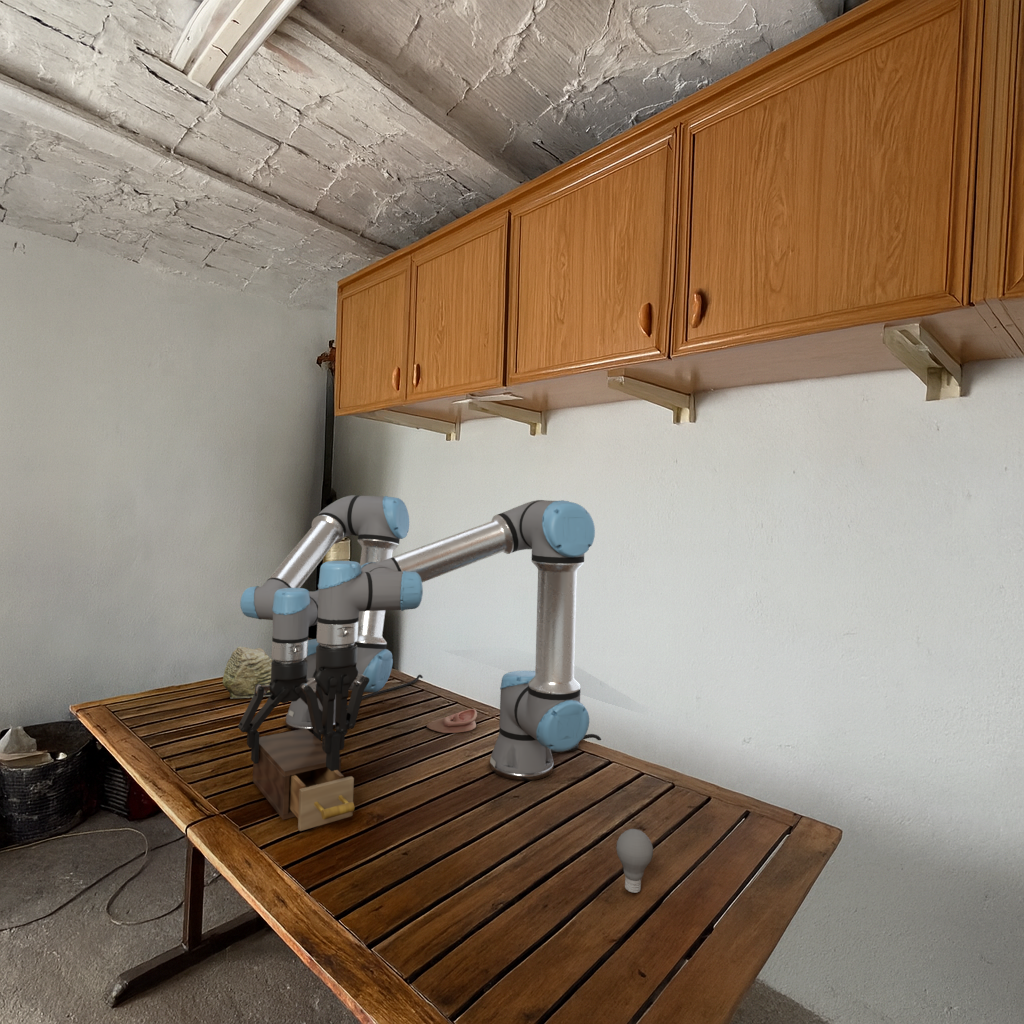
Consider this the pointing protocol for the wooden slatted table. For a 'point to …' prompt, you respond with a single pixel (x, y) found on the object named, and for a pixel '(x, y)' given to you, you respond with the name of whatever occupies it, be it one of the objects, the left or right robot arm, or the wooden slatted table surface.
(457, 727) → the anatomical model
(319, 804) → the drawer
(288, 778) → the cabinet
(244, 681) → the fossil
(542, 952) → the wooden slatted table surface
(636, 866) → the light bulb
